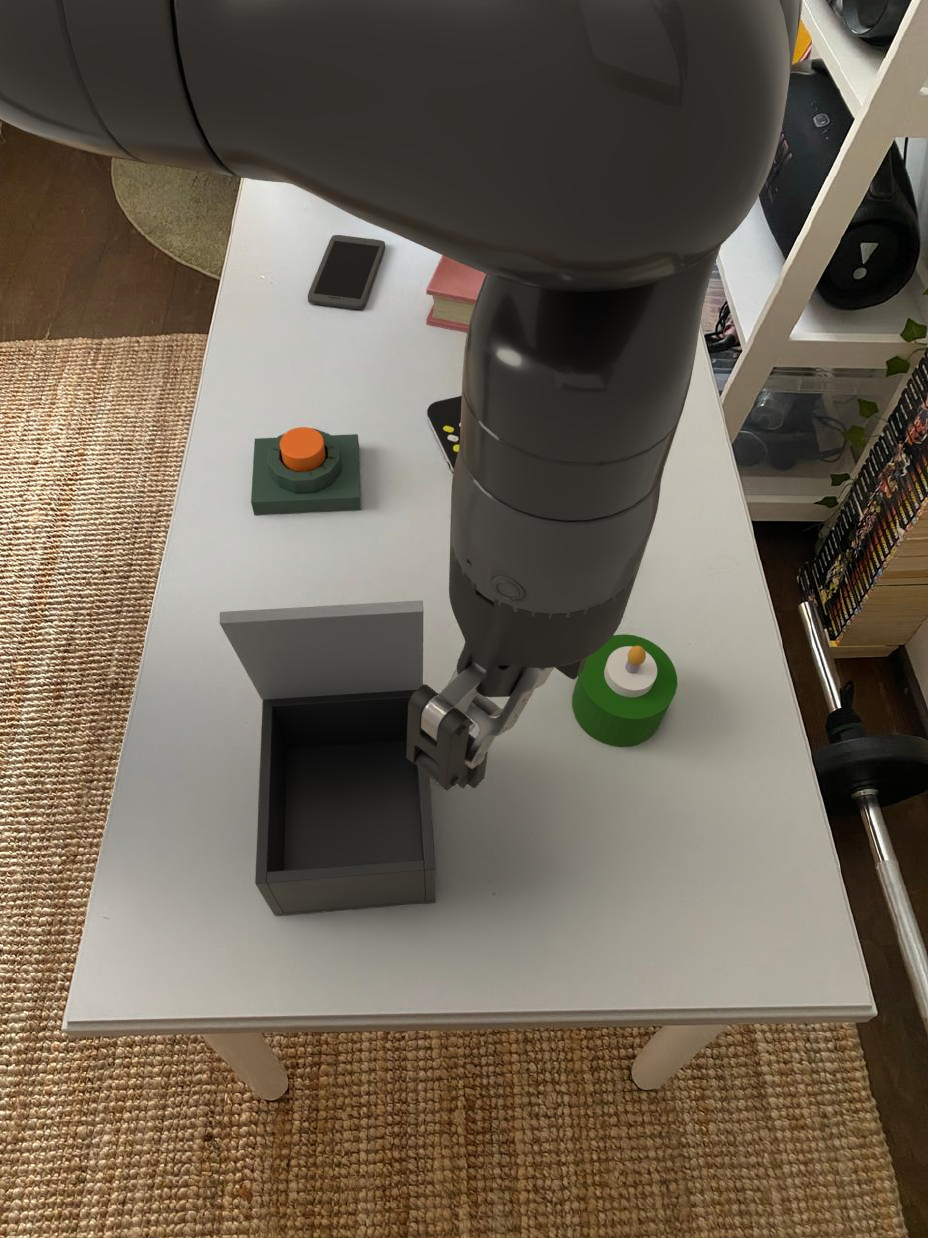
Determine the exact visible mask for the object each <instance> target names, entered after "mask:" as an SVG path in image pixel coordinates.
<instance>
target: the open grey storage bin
mask: <svg viewBox="0 0 928 1238" xmlns="http://www.w3.org/2000/svg"><path fill="white" fill-rule="evenodd" d="M415 691H416V690H404V691H389V692H373V693H358V694H343V695H327V696H312V697H296V698H281V699H266V700H262V703H261V704H262V706H261V727H260V728H261V732H260V751H259V752H260V754H259V780H258V781H259V782H258V802H257V803H258V805H257V806H258V807H257V829H256V830H257V831H256V852H255V853H256V855H255V876H254V877H255V879H254V880H255V881H254V884H255V886H256V887H257V889H258V891H259V893H260V894H261V896H262V898H263V899H264V901H265V903H266V904H267V906H268V908H269V909H270V911H271V913H272V914H273V917H280V916H294V915H305V914H317V913H329V912H330V913H331V912H341V911H353V910H364V909H376V908H388V907H401V906H414V905H426V904H435V903H436V901H437V900H436V899H437V898H436V896H437V895H436V893H437V892H436V891H437V889H436V887H437V885H436V884H437V866H436V864H437V863H436V851H435V849H436V848H435V836H434V824H433V810H432V809H433V808H432V797H431V782H430V776H429V775H428V774H427V773H426V772H424V771H423V770H422V769H421V768H420V767H418V766H417V765H416V764H413V763H412V762H411V761H410V760H408V759H407V757H406V754H407V724H408V703H409V700H410V698H411V696H412V694H413V693H414V692H415Z"/></svg>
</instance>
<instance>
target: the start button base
mask: <svg viewBox="0 0 928 1238" xmlns="http://www.w3.org/2000/svg"><path fill="white" fill-rule="evenodd" d="M311 428H312V429H314V430H316V431H318V432H319V433H320V434H321V435H322V437H323V440H324V447H325V454H326V456H325V460H324V462H323V463H322V464H321V465H320V466H319V467H318V468H316V469H314V470H312V471H308V472H297V471H294V470H291V469H290V468H288V467H287V466H286V465H285V464H284V462H283V458H282V454H281V449H280V440H281V438H282V436H283V435H284V434H285V433H282V434H280V435H277V437H261V438H259V437H257V438H254V442H253V462H252V480H251V497H250V504H251V508H252V512H253V515H254V516H261V515H263V516H264V515H279V514H280V515H281V514H282V515H283V514H300V513H301V514H303V513H321V512H343V511H361V510H362V491H361V464H360V462H361V461H360V442H359V434H357V433H354V434H353V433H352V434H330V433H328V432H325V431H322V430H320V429H317V428H314V427H311Z"/></svg>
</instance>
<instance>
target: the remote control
mask: <svg viewBox="0 0 928 1238" xmlns="http://www.w3.org/2000/svg"><path fill="white" fill-rule="evenodd" d="M461 400H462V395H459V396H454V397H450V398H445V399H441V400H436V401H434V402H432V403H431V404H429V406H428V407H427V408H426V409H427V411H426V418H427V422H428V423H429V426H430V428H431V430H432V432H433V435H434V436H435V438H436V441H437V443H438V445H439V447H440V449H441V451H442V453H443V455H444V457H445V460H446V462H447V465H448V467H449V469H450V470H451V472H452V474H453V473H454V468H455V463H456V459H457V455H458V451H459V445H460V428H461Z"/></svg>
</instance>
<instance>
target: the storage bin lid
mask: <svg viewBox="0 0 928 1238" xmlns="http://www.w3.org/2000/svg"><path fill="white" fill-rule="evenodd" d="M218 622H219V625H220V627H221V629H222V630H223V632H224V634H225V636H226V638H227V640H228V641H229V643H230V645H231V647H232V649H233V650H234V652H235V654H236V656H237V657H238V660H239V661H240V663H241V665H242V666H243V669H244V671H245V672H246V674H247V676H248V678H249V680H250V681H251V683H252V685H253V687H254V688H255V690H256V692H257V694H258V696H259V697H260V699H261V701H263V700H266V699H281V698H296V697H312V696H327V695H343V694H358V693H373V692H389V691H404V690H417V689H418V688H419V687H421V686H422V685H424V601H423V600H421V599H419V600H404V601H385V602H369V603H353V604H336V605H334V604H333V605H319V606H317V605H316V606H302V607H301V606H300V607H299V606H298V607H284V608H283V607H282V608H266V609H265V608H264V609H249V610H232V611H231V610H230V611H219V621H218Z"/></svg>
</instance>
